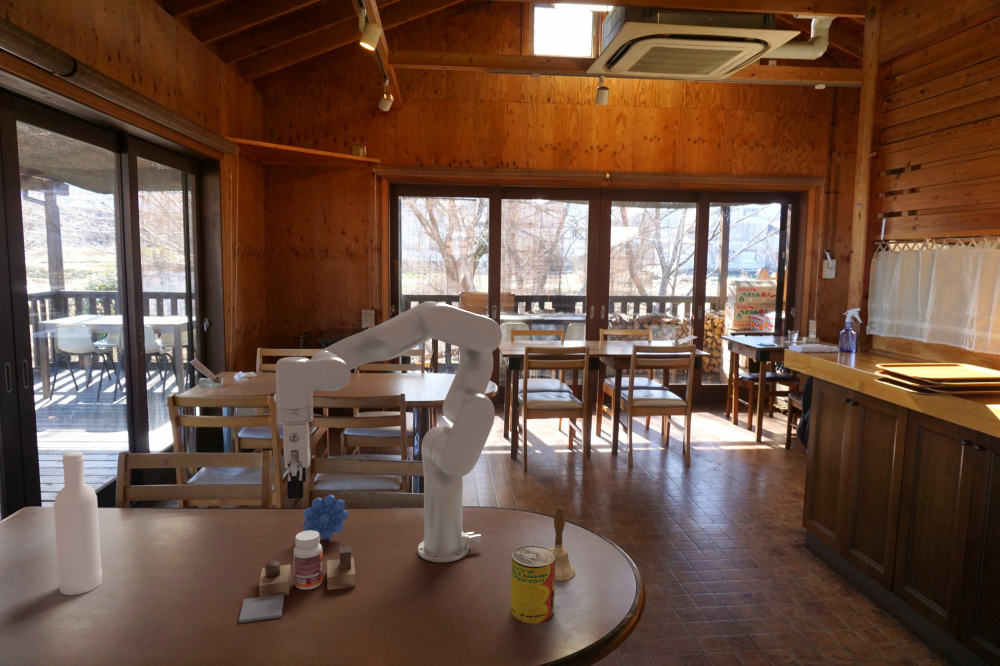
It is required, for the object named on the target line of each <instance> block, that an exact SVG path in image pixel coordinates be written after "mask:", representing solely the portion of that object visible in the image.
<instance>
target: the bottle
mask: <svg viewBox="0 0 1000 666" xmlns="http://www.w3.org/2000/svg"><path fill="white" fill-rule="evenodd" d="M84 462H85V457H84V452H83V451H82V452H81V451H69V452H66V453H64V454H63V455H62V461H61V464H62V466H63V467H62V468H63V478H64V480H63V481H64V486H63V487H62V488H61V489H60V491H58V492H57V493H56V496H55V499H54V503H53V511H54V524H55V527H54V528H55V542H56V553H57V554H56V555H57V568H58V587H59V593H61V594H62V595H66V596H76V595H77V596H78V595H82V594H86V593H89V592H91V591H93V590H96V589H97V588H98V587H99V586H101V584H102V583H103V567H102V559H101V558H102V556H101V541H100V540H101V539H100V527H99V526H100V525H99V524H100V523H99V522H100V521H99V511H98V509H99V507H98V505H99V504H98V496H97V493H96V491H95V489H94V488H93V487H92V486H90V485H89V484H87V483H86V481H85V469H84V468H85V466H84Z"/></svg>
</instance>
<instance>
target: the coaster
mask: <svg viewBox="0 0 1000 666" xmlns="http://www.w3.org/2000/svg"><path fill="white" fill-rule="evenodd" d="M284 599H285V596H284V594H281V595H273V596H265V597H259V596H258V597H251V598H244V599H243V601H242V606H241V609H240V613H239V618H238V623H240V624H242V623H248V622H249V623H250V622H257V621H263V620H271V619H278V618H283V617H282V616H283V609H284V602H285V601H284Z"/></svg>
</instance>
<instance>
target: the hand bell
mask: <svg viewBox="0 0 1000 666" xmlns="http://www.w3.org/2000/svg"><path fill="white" fill-rule="evenodd" d="M555 510H556V511H555V513H554V516H553V526H554V527H553V528H554V531H555V539H554V546H552V547H550V548H549V549H548V550H550V551H552V552H553V553H554V554H555V582H565V581H570V580H572V579H573V578H575V576H576V571H575V568H574V567H573V566H572V565H571V563H570V559H569V552H568V550H567V549H566V548H565V547H563V532H564V529H565V524H566V515H565V513H564V508H563V506H557V507H556V509H555Z"/></svg>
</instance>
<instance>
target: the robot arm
mask: <svg viewBox="0 0 1000 666" xmlns="http://www.w3.org/2000/svg"><path fill="white" fill-rule="evenodd" d="M431 339H433V340H437V341H440V342H442V343H445V344H448V345H452V346H455V347H458V348H457V349H458V351H459V356H460V357H459V364H458V367H457V370H456V373H455V376H454V378H453V379H452V382H451V385H450V387H449V388H448V391H447V393H446V396H445V398H444V400H443V403H442V413H443V416H444V417H445V419H447V420H448V421H449V422H450V423H452V427H450V426H445V425H438V426H437V425H436V426H434V427H432V428H430V429H429V430H428V431H426V433H425V434H424V436H423V438H422V442H421V448H420V449H421V451H420V452H421V460H422V466H423V467H422V468H423V469H422V470H423V486H424V487H423V489H424V490H423V508H424V509H423V511H424V512H423V541H421V542H420V543H419V544H418V546H417V555H419V557H421V559H424V560H426V561H428V562H433V563H450V562H455V561H459V560H460V559H462V558H464V557H465V556H466V555H467V554H468V553H469V545H470V544H477V543H478V544H479V543H482V535H481V534H475V533H474V531H470V532H468V531H467V532H465V531H463V502H464V501H463V493H464V487H463V486H464V482H463V481H464V480H463V477H465V476H467V475H468V474H469V473H471V472H472V471H473V469H474V468H475V466H477V463H478V461H479V459H480V456H481V454H482V452H483V450H484V448H485V445H486V443H487V441H488V438H489V436H490V433H491V431H492V428H493V426H494V421H495V417H496V416H495V415H496V414H495V413H496V411H495V407H494V406H495V405H494V403H493V401H492V400H491V399H490V398H489V397H488V396H487V395H486V392H487V389H488V386H489V384H490V380H491V378H492V374H493V370H494V355H493V352H494V351H495V350H497V349H498V347H499V346H500V345H501V342H502V339H503V331H502V328H501V326H500V325H499V323H498V322H497V321H496V320H494V319H493V318H490V317H487V316H485V315H480V314H479V313H478V314H477V313H474V312H471V311H467V310H464V309H462V308H458V307H455V306H454V305H453V306H452V305H450V304H448V303H443V302H438V301H432V300H431V301H424V302H422V303H420V304H417V305H416V306H413V307H411V308H409V309H408V310H406V311H403V312H401V313H400V314H398V315H396V316H394V317H392V318H390V319H388V320H385V321H383V322H381V323H380V324H377V325H375V326H373V327H371V328H367V329H365V330H362V331H361V332H358V333H354V334H353V335H350V336H348V337H345V338H343V339H341V340H339V341H337V342H334V343H333V344H331V345H329V346H327V347H325V348H323V349H321V350H320V351H318V352H317V353H315V354H314V355H312V357H311V358H310V359H309V358H308V357H305V356H288V357H282V358H279V359H278V360H277V362H276V363H275V390H276V392H275V393H276V394H275V395H276V422H277V424H280V425H282V434H283V435H282V436H283V437H282V438H283V439H282V440H283V457H284V468H285V469H286V470H287V471H288V473H287V481H286V482H287V483H286V485H287V498H288V499H289V500H292V499H294V500H295V499H303V498H304V483H305V482H306V481H307V479H306V478H307V477H306V476H307V473H306V472H307V471H306V469H308V468H309V466H310V463H311V440H310V439H311V438H310V435H311V434H310V422H313V421H314V391H324V392H336V391H339V390H342V389H343V388H345V387H346V386H347V385H348V384H349V382H350V380H351V376H352V372H351V370H353V369H355V368H358V367H360V366H362V365H365V364H368V363H374V362H382V361H390V360H392V359H396V358H398V357H400V356H402V355H404V354H405V353H408V352H410V350H413V349H414V348H416V347H418V346H420V345H422V344H424V343H426V342H428V341H429V340H431Z"/></svg>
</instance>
